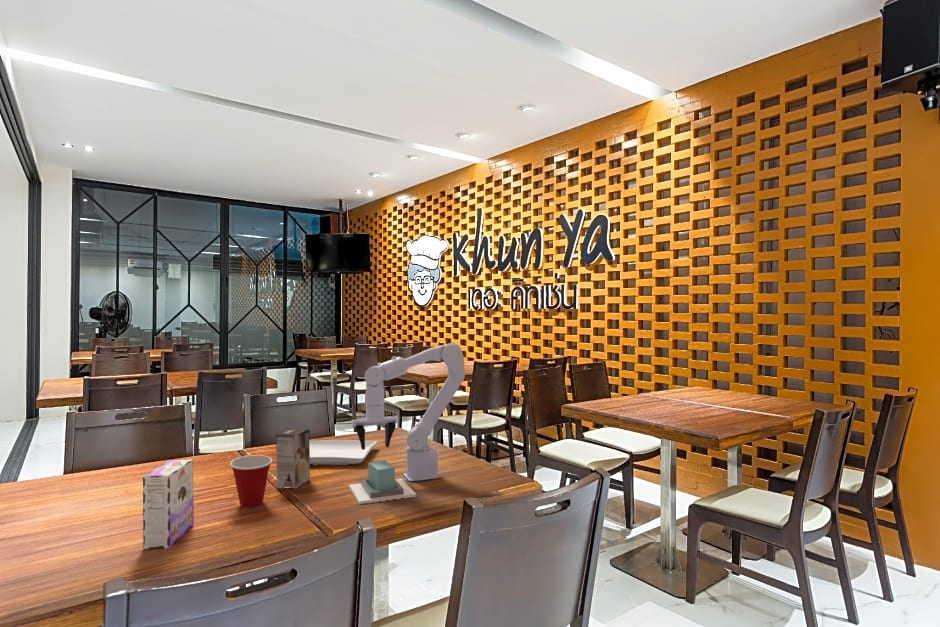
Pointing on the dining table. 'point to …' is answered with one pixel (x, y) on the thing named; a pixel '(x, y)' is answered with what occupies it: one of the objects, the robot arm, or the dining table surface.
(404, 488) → the socket board
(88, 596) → the dining table surface
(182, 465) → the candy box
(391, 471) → the teal block
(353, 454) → the square plate
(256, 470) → the plastic cup
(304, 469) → the coffee box
